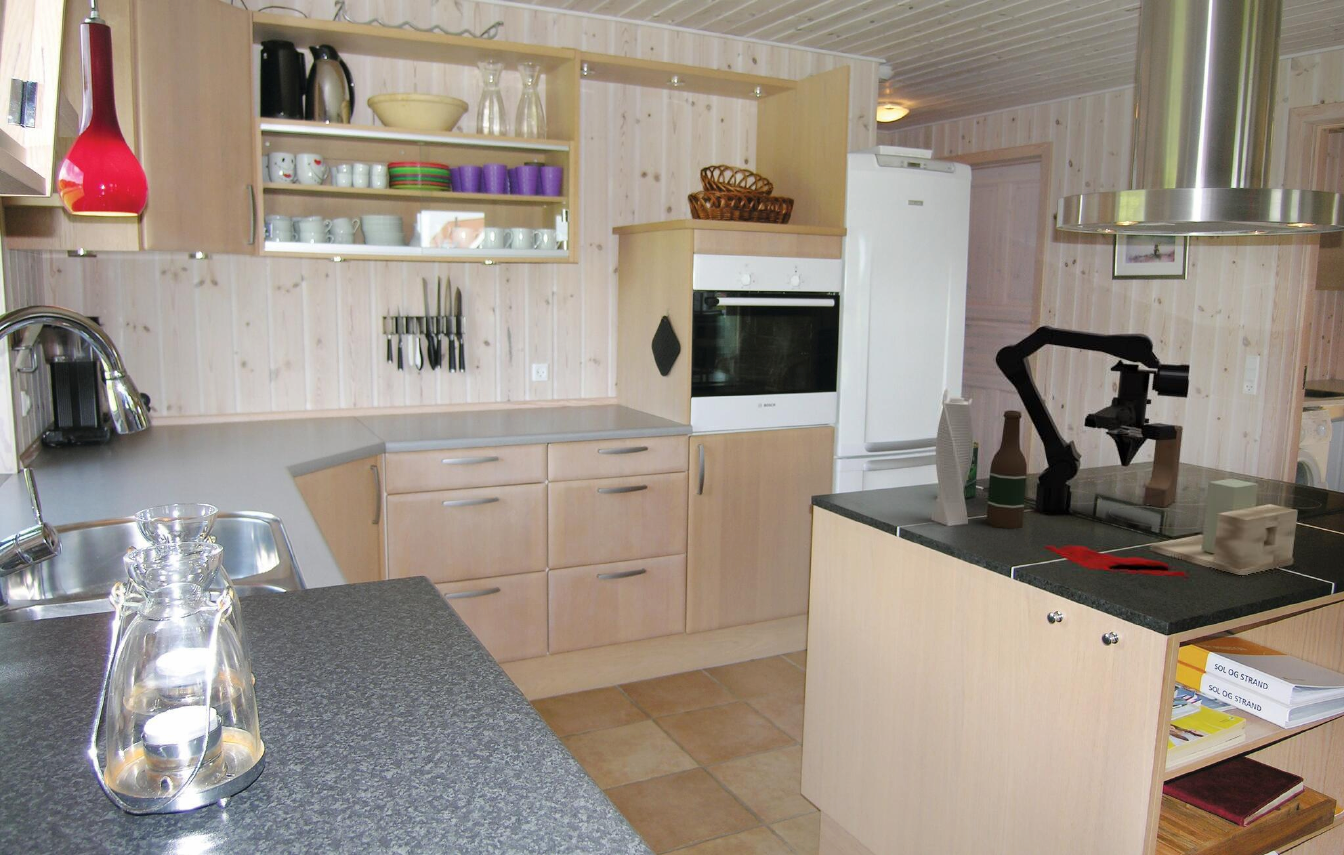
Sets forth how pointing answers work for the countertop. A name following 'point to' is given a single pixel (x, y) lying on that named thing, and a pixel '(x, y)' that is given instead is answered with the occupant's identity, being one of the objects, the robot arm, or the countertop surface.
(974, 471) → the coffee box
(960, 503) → the skyscraper
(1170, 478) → the wooden block
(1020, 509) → the beer bottle
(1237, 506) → the block
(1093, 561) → the cloth
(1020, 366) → the robot arm
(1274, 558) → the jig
